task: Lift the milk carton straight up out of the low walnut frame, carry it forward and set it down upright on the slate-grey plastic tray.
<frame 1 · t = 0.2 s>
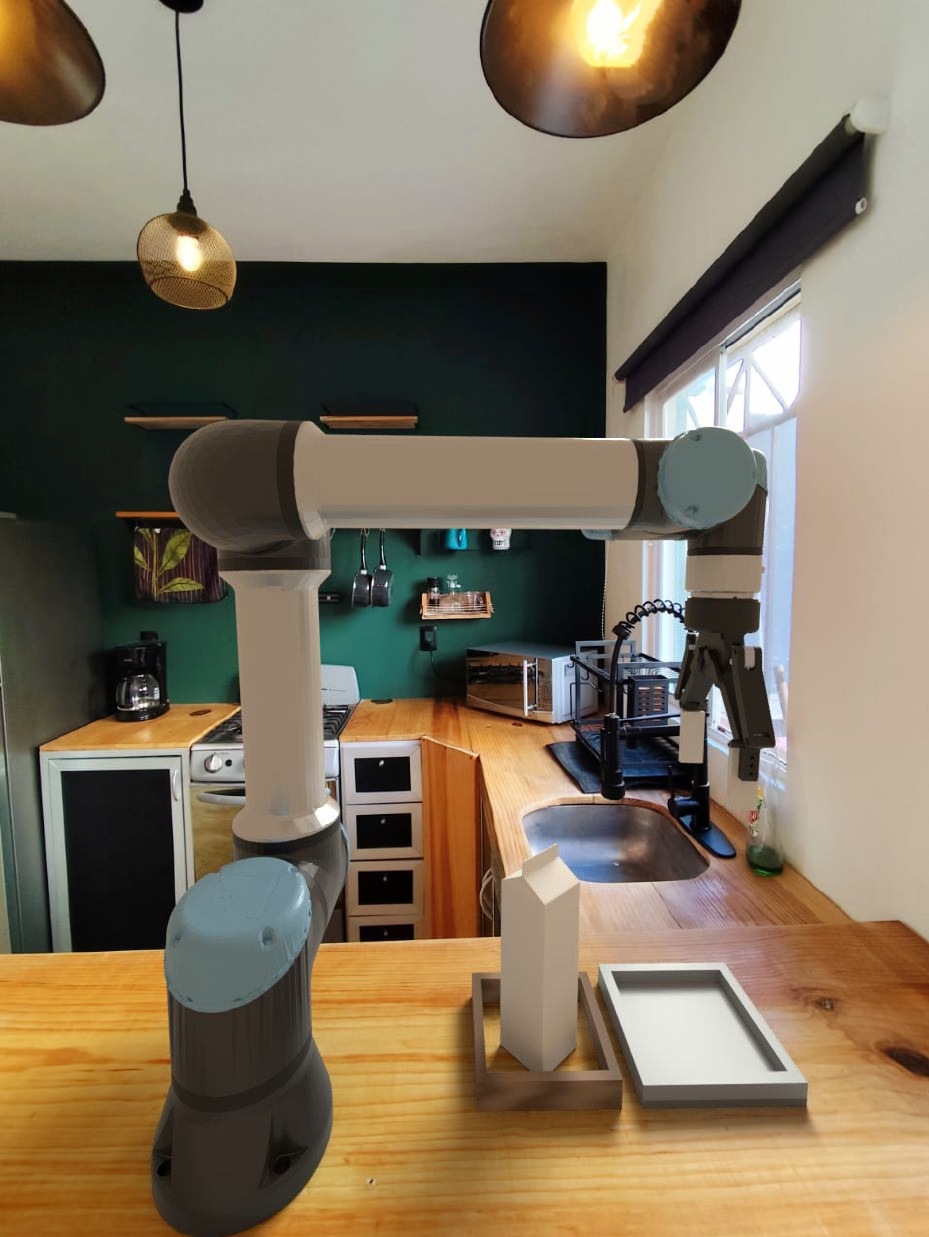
hand: (713, 783, 60), 28 cm above the countertop, fingers open, 13 cm apart
tray: (688, 1035, 59), on the countertop
frame: (538, 1045, 58), on the countertop
milk: (538, 1047, 58), resting in frame
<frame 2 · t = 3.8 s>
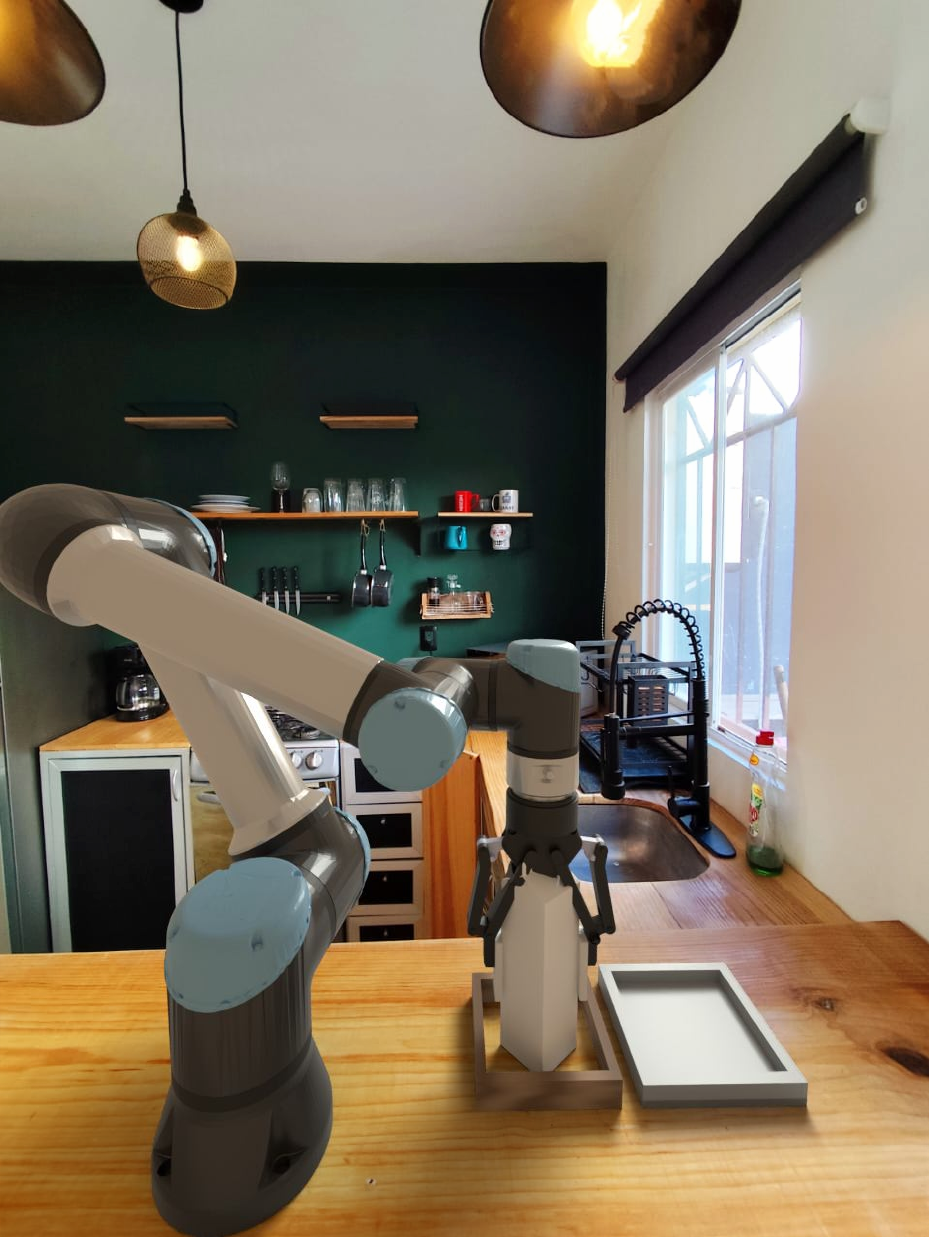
hand: (538, 991, 58), 6 cm above the countertop, fingers closed on milk, 8 cm apart
milk: (538, 1047, 58), resting in frame, touching gripper
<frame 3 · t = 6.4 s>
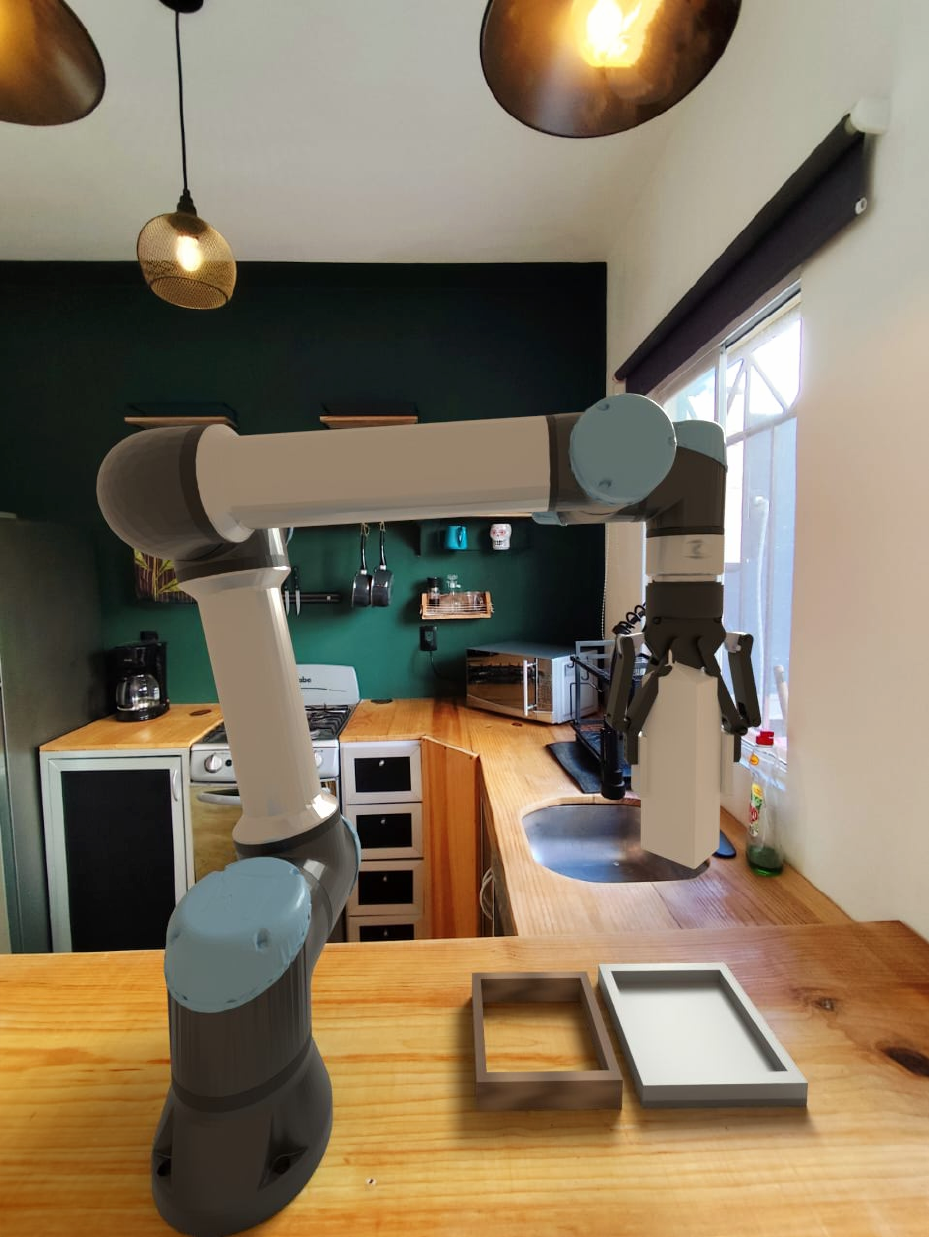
hand: (680, 791, 57), 28 cm above the countertop, fingers closed on milk, 8 cm apart
milk: (679, 850, 57), point 22 cm above the countertop, touching gripper
when the fingers open (8 cm above the countertop, at t = 9.3 s): milk drops 1 cm, resting on tray.
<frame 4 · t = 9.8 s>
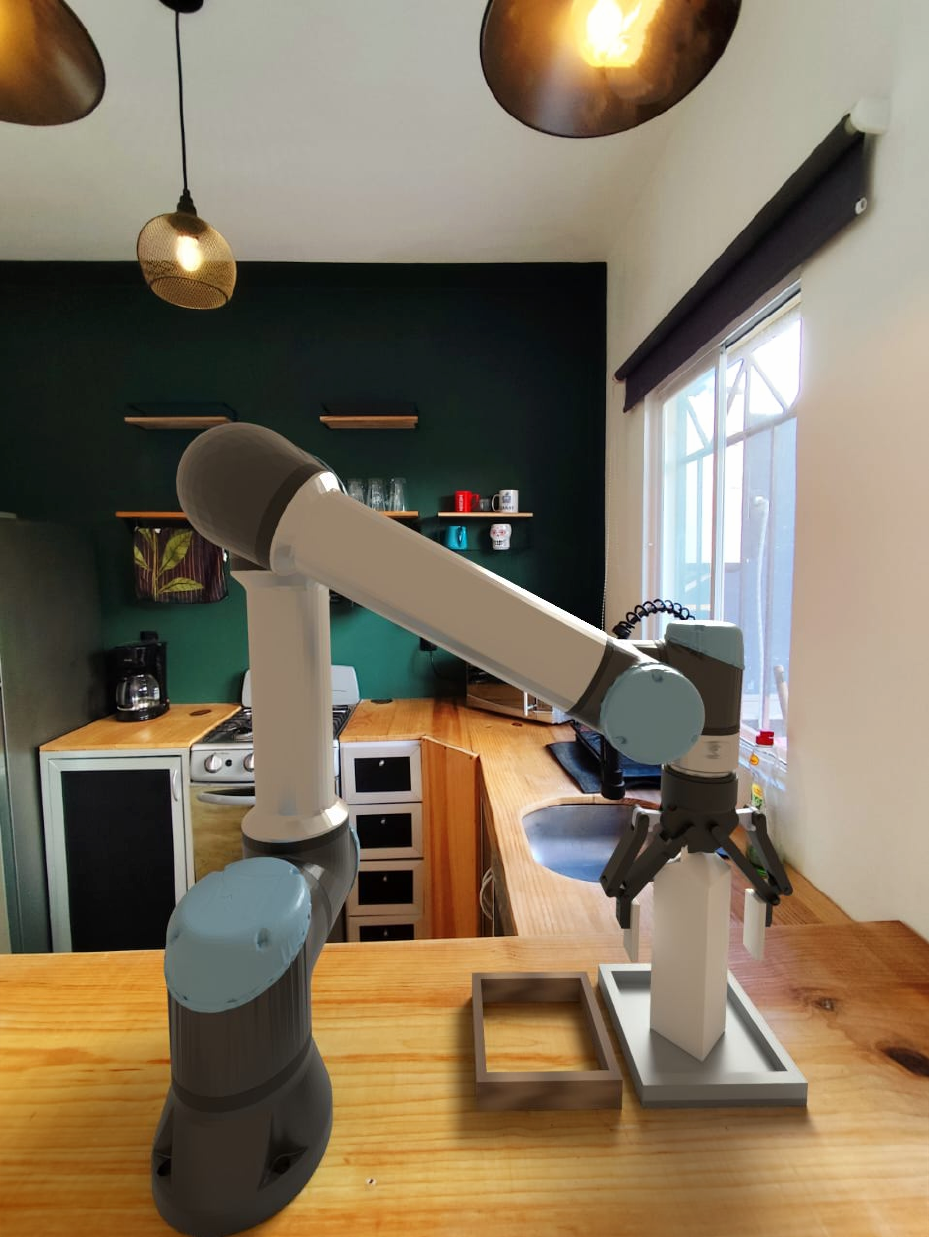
hand: (691, 953, 59), 10 cm above the countertop, fingers open, 13 cm apart
milk: (687, 1030, 59), point 1 cm above the countertop, touching tray
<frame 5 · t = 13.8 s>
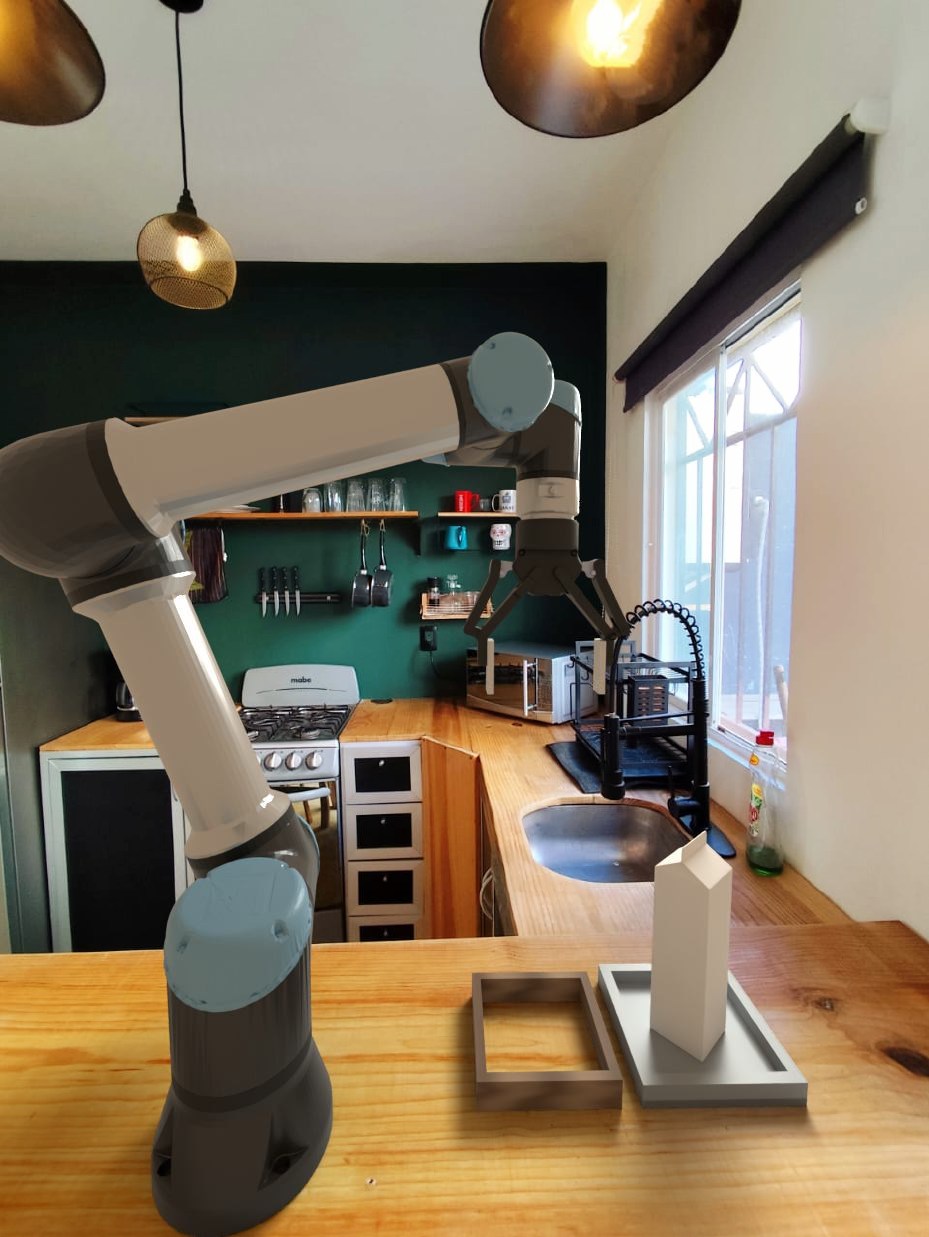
hand: (544, 692, 66), 37 cm above the countertop, fingers open, 13 cm apart
nothing on the countertop moved.
at the end: milk inside the target area on the tray (0.2 cm from its centre), point 0.6 cm above the tray's base; milk tilted 0°; the gripper is holding nothing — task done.
